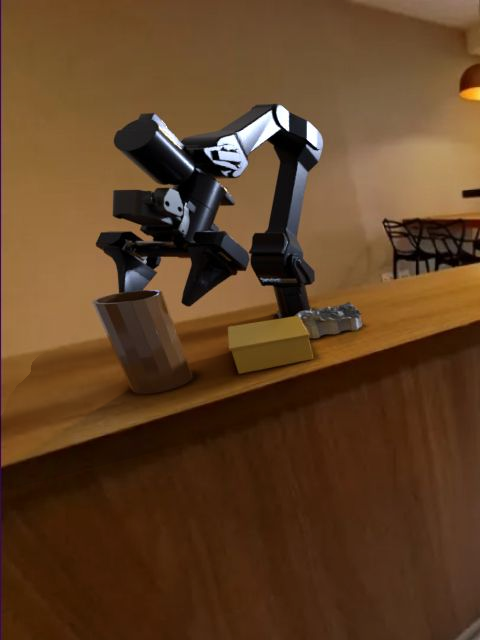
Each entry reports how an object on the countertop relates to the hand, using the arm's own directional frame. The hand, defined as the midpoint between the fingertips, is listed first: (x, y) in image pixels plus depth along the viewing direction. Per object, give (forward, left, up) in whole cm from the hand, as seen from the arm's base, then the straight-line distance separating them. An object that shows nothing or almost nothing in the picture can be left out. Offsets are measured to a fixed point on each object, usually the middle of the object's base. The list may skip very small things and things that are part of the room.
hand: (154, 304), depth 58 cm
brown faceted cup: (+2, -2, -10) cm, 11 cm away
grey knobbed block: (-9, +22, -10) cm, 26 cm away
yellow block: (-1, +12, -10) cm, 16 cm away
